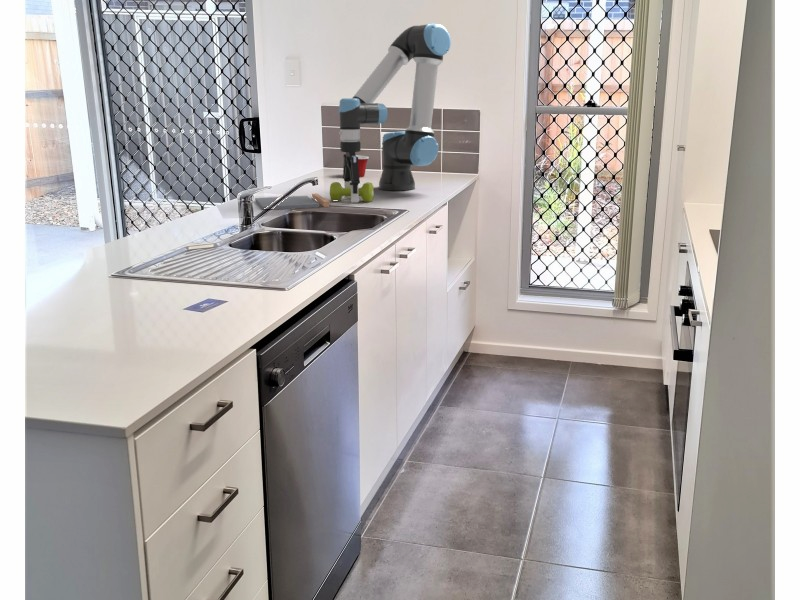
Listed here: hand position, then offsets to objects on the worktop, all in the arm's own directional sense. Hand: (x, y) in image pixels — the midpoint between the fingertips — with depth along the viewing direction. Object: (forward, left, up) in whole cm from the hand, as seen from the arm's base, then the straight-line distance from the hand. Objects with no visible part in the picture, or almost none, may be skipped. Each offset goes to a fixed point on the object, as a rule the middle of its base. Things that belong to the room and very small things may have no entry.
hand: (351, 200), depth 299 cm
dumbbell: (0, 0, -1) cm, 1 cm away
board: (+25, 0, 0) cm, 25 cm away
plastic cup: (-17, -61, 0) cm, 63 cm away
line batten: (+12, 0, 0) cm, 12 cm away
